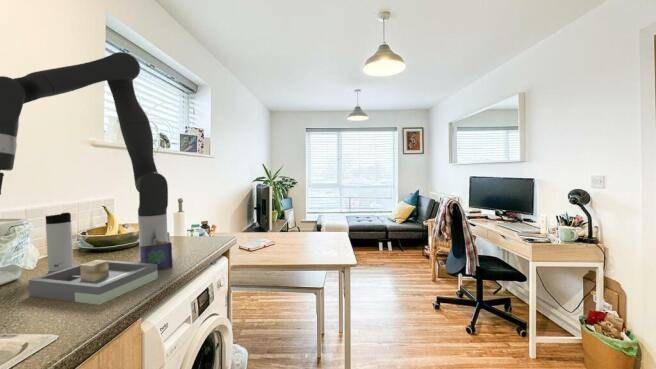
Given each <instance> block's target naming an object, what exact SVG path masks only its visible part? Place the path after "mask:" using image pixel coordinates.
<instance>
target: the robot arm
mask: <svg viewBox="0 0 656 369" xmlns="http://www.w3.org/2000/svg"><path fill="white" fill-rule="evenodd" d="M140 73H141V65H140V63H139V60H137V58H136V57H134V56H133V55H132V54H130V53H127V52H123V51H119V52H114V53H112V54H110V55H108V56H104V57H102V58H99V59H95V60H92V61H88V62H83V63H79V64H72V65H67V66H61V67H56V68H49V69H44V70H39V71H33V72H30V73H28V74H26V75H24V76H21V77H20V76H19V77H16V78H12V77H8V76H4V75H3V76H1V75H0V171H12V170H13V169H14V163H15V159H16V154H17V153H16V152H17V146H18V144H17V140H18V139H17V138H18V137H17V136H18V131H19V126H20V125H19V124H20V122H19V121H20V116H21V113H22V109H23V107H24V104H27V103H31V102H34V101H37V100H39V99H43V98H48V97H54V96H59V95H62V94H66V93H70V92H74V91H78V90H79V89H84V88H85V87H89V86H91V85H95V84H97V83H102V82H107V85H108V88H109V90H110V92H111V96H112V98H113V99H112V100H113V101H114V107H115V111H116V114H117V119H118V124H119V127H120V131H121V135H122V138H123V142H124V144H125V147H126V150H127V153H128V156H129V158H130V161H131V162H130V163H131V166H132V171H133V179H134V185H135V188H136V190H137V192H138V193H139V194H138V195H139V196H138V197H139V198H138V199H139V204H138V208H137V219H138V220H137V221H138V243H139V245H138V246H139V249H140V246H141V245H146V244H154V241H153V240H154V239H155V238H158V241H160V242H161V241H163V242H164V241H166V242H171V241H170V240H171V238H170V232H169V231H168V217H167V214H168V213H167V210H168V205H169V187H168V182H167V178H166V177H165V176H164V175H163V174H161V173H160V172H159V171H158V169H157V166H156V164H155V160H154V159H155V158H154V138H153V132H152V127H151V124H150V119H149V117H148V116H147V114H146V112H145V110H144V109H143V107H142V106H141V104H140V103H139V101H138V100H139V99H138V98H137V96H136V91H135V87H134V81H133V80H135V79H136V78H137V77H139V75H140ZM4 176H5V174H4V172H0V196H1V195H2V187H3V186H2V185H3V179H4ZM139 263H141V252H140V251H139Z"/></svg>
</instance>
